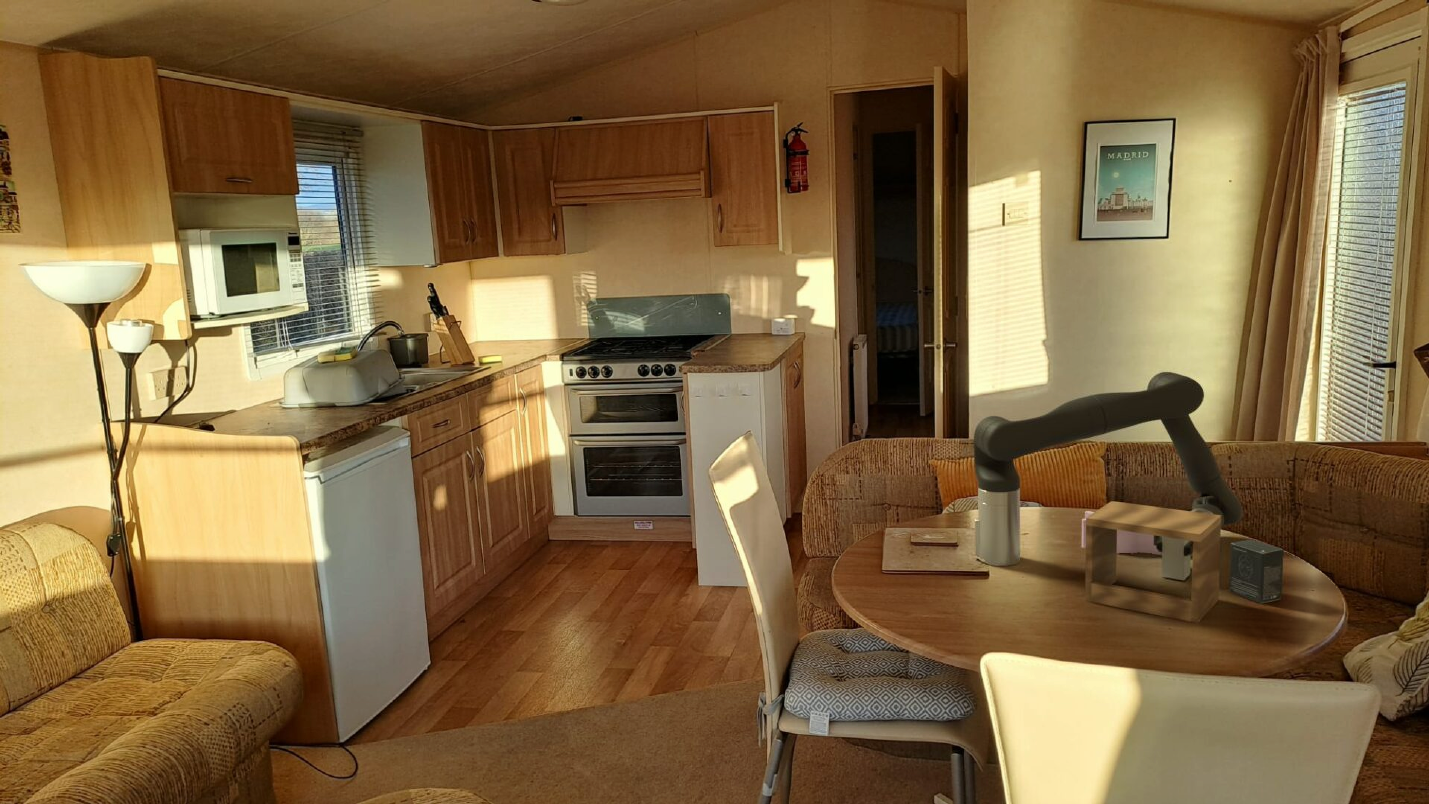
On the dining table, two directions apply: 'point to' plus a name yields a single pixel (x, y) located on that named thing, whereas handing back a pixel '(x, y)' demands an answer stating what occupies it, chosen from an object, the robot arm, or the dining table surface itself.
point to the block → (1175, 559)
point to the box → (1256, 571)
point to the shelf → (1157, 523)
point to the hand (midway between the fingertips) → (1172, 549)
